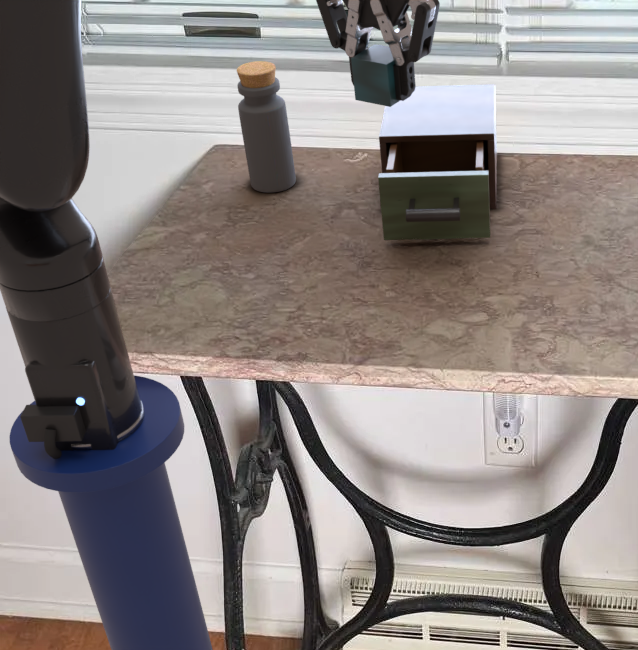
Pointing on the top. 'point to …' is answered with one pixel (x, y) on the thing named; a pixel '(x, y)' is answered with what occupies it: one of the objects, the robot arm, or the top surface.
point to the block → (374, 76)
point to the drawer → (435, 191)
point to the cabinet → (445, 121)
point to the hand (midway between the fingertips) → (384, 93)
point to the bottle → (265, 128)
